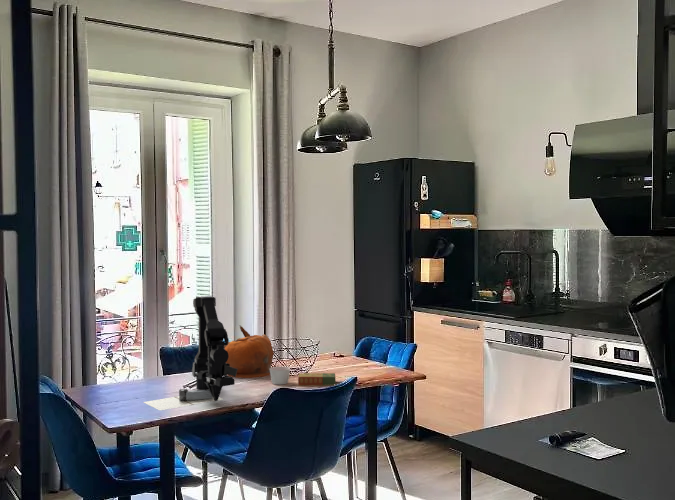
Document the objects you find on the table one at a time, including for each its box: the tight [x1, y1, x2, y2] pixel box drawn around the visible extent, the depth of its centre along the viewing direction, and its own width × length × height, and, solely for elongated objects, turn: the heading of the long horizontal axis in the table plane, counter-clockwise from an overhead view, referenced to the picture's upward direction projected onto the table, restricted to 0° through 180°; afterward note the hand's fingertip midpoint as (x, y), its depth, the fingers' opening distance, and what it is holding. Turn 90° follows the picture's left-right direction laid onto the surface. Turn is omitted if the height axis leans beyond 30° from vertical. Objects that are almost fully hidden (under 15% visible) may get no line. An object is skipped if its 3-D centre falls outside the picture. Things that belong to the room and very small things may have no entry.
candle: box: [269, 366, 291, 385], centre depth 295 cm, size 9×9×6 cm
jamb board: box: [142, 395, 224, 411], centre depth 261 cm, size 16×26×1 cm, turn 128°
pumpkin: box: [224, 324, 275, 379], centre depth 316 cm, size 22×25×23 cm
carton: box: [297, 372, 337, 387], centre depth 293 cm, size 8×16×4 cm, turn 91°
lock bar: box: [178, 388, 213, 401], centre depth 262 cm, size 13×3×4 cm, turn 103°
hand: (216, 400), depth 257 cm, fingers closed
